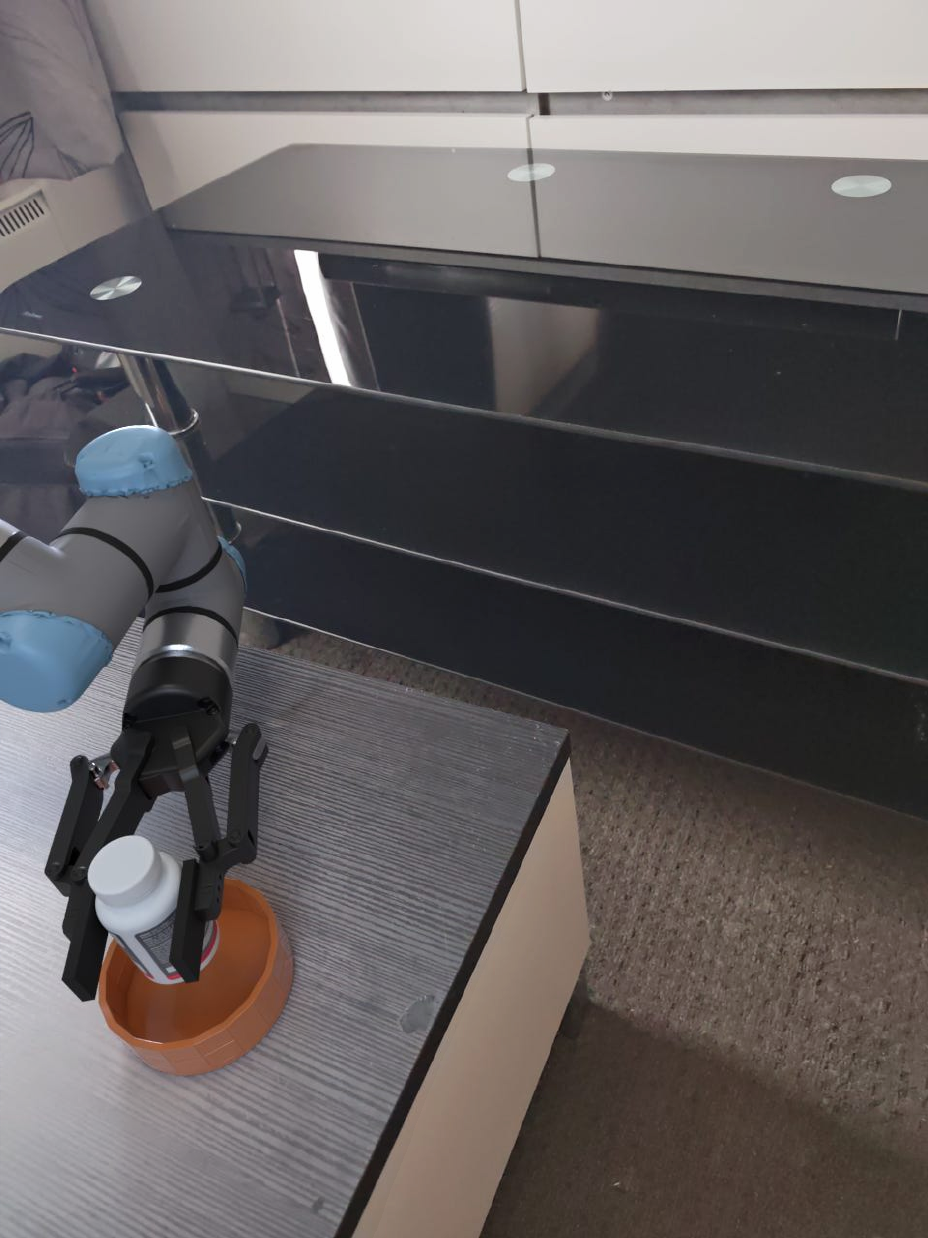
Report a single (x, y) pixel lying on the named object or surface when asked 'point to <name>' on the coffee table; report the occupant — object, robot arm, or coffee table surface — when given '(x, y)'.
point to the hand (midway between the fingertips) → (131, 980)
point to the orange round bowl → (205, 993)
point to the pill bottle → (142, 904)
